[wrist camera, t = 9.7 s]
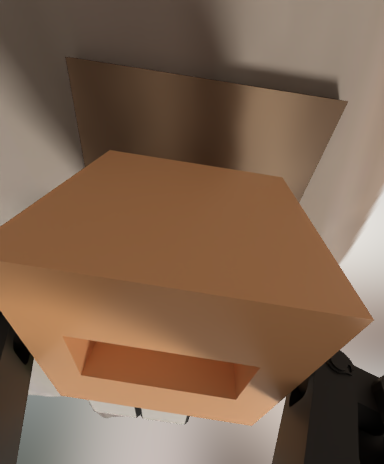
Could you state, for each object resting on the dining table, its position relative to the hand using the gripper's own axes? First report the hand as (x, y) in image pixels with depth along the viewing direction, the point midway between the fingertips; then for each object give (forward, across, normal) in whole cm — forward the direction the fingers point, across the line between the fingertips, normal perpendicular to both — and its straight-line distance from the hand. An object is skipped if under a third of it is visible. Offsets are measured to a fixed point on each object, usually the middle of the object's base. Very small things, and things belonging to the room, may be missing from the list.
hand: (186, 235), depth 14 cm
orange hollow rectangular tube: (0, 0, 0) cm, 0 cm away
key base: (+5, 0, 0) cm, 5 cm away
